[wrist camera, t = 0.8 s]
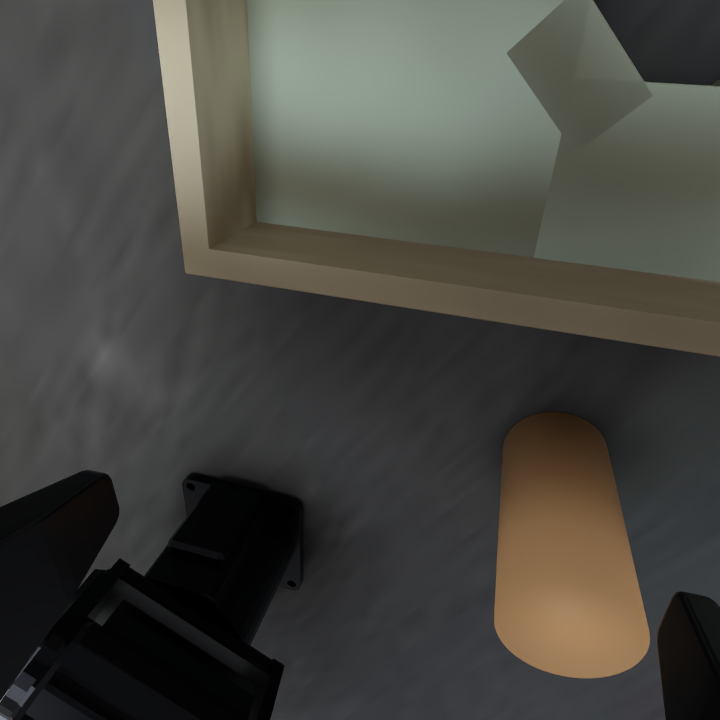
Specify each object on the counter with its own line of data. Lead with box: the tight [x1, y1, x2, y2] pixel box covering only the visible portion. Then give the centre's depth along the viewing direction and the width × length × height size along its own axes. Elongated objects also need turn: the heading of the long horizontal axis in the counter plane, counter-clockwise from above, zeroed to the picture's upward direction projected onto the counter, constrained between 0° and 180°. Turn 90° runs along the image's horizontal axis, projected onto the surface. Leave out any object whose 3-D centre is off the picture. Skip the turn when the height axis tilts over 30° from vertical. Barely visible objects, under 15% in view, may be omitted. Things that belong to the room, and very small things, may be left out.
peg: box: [494, 412, 650, 678], centre depth 18 cm, size 4×4×8 cm
